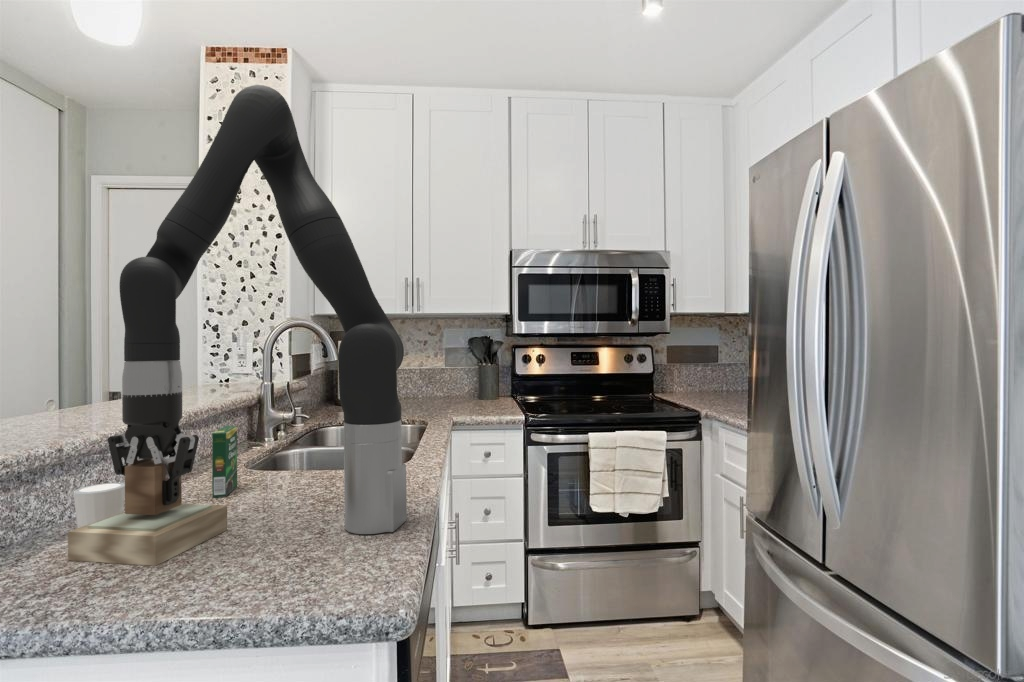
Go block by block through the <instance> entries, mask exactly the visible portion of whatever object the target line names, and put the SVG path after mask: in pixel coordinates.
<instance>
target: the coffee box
mask: <svg viewBox="0 0 1024 682" xmlns="http://www.w3.org/2000/svg"><path fill="white" fill-rule="evenodd" d="M211 435H212V438H211V439H212V441H211V442H212V443H211V448H212V449H211V450H212V452H211V453H212V454H211V460H212V461H211V463H212V464H211V466H212V467H211V468H212V469H211V474H212V475H211V478H212V479H211V481H212V482H211V484H212V488H211V489H212V498H225V497H228V495H230V494H231V493H232V492H233V491H234V490H235V489H236V488H238V427H237V425H227V426H226V425H224V426H222V427H221V428H219V429H218V430H216V431H214V432H212V434H211Z"/></svg>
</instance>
